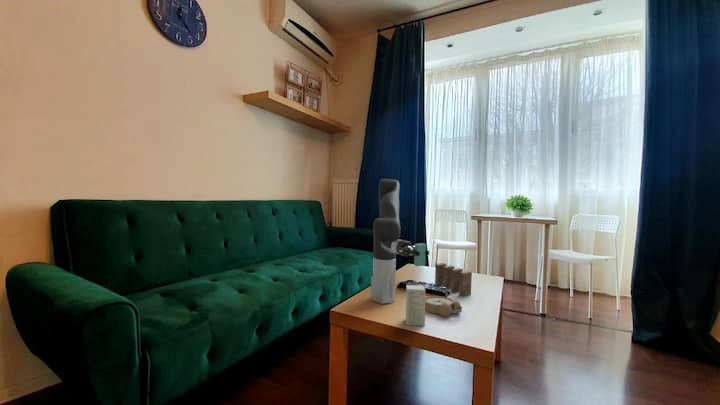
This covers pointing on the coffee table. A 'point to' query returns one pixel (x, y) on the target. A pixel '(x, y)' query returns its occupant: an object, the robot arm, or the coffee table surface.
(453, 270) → the domino
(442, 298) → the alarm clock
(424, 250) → the teal domino
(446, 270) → the domino
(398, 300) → the coffee table surface
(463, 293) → the domino
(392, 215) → the robot arm
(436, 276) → the domino
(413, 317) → the skincare box
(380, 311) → the coffee table surface
